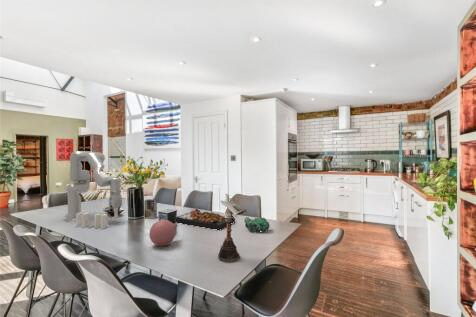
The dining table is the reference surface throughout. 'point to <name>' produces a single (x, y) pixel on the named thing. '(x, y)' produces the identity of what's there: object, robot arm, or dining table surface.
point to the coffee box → (150, 209)
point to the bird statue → (228, 248)
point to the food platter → (203, 219)
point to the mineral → (256, 224)
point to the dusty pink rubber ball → (162, 232)
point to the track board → (91, 227)
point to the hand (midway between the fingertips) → (114, 215)
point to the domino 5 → (115, 213)
